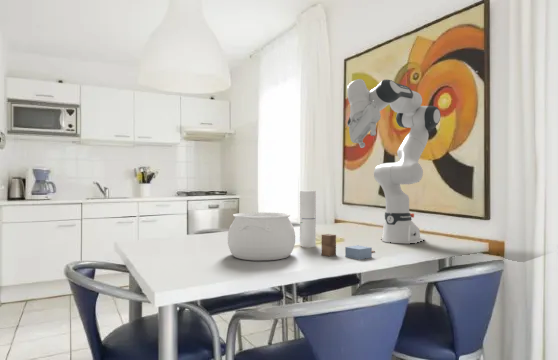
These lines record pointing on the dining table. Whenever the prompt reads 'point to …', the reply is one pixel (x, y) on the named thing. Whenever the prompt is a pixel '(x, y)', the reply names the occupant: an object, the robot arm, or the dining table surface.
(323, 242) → the walnut block
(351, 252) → the slate block
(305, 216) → the cylindrical container
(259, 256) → the pot
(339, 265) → the dining table surface
